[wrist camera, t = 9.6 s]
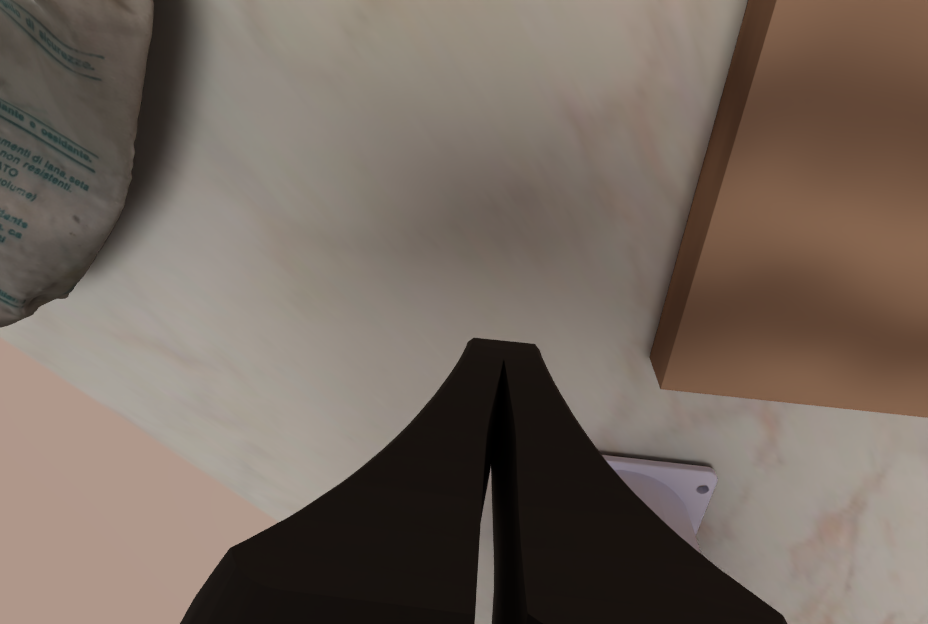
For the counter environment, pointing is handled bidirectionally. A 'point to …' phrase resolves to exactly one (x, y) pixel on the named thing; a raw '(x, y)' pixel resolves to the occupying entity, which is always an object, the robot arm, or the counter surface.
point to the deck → (811, 216)
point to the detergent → (64, 138)
